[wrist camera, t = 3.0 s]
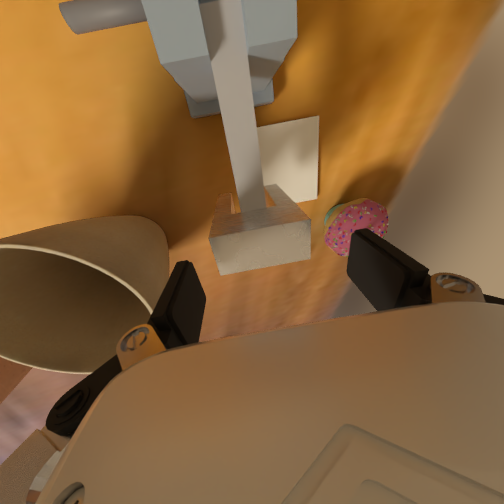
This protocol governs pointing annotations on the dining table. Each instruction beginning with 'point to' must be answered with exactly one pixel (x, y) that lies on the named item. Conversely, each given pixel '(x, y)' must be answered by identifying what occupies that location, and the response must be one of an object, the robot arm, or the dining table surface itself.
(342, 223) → the cupcake
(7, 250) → the plant pot
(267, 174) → the mat
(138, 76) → the dining table surface
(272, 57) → the vise
